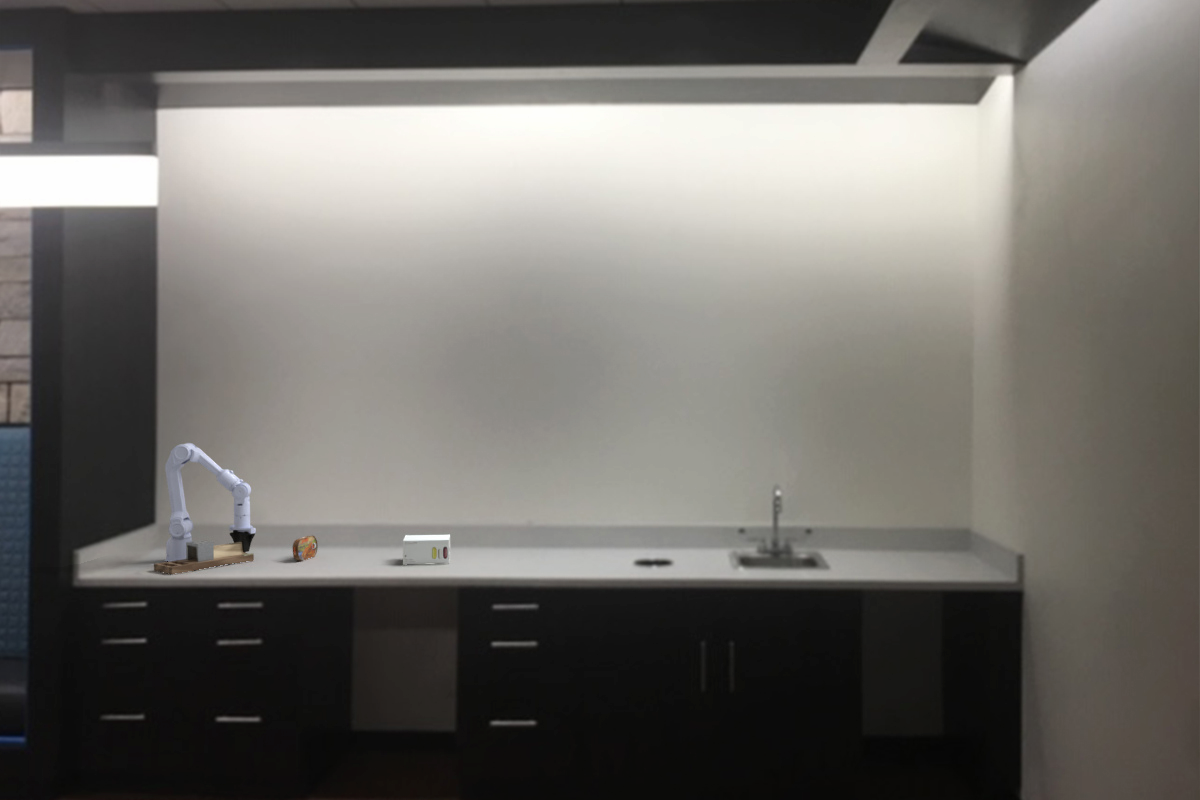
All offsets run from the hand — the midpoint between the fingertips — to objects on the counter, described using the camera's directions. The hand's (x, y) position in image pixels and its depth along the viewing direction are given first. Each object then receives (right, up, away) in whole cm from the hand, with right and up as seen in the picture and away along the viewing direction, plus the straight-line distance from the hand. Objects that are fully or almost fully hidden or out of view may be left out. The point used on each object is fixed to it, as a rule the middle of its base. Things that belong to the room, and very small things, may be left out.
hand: (242, 551), depth 367 cm
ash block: (-5, -1, -6) cm, 8 cm away
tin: (+23, -3, +1) cm, 24 cm away
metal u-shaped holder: (-10, -1, -14) cm, 17 cm away
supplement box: (+71, -3, -6) cm, 71 cm away
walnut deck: (-9, -4, -12) cm, 16 cm away
